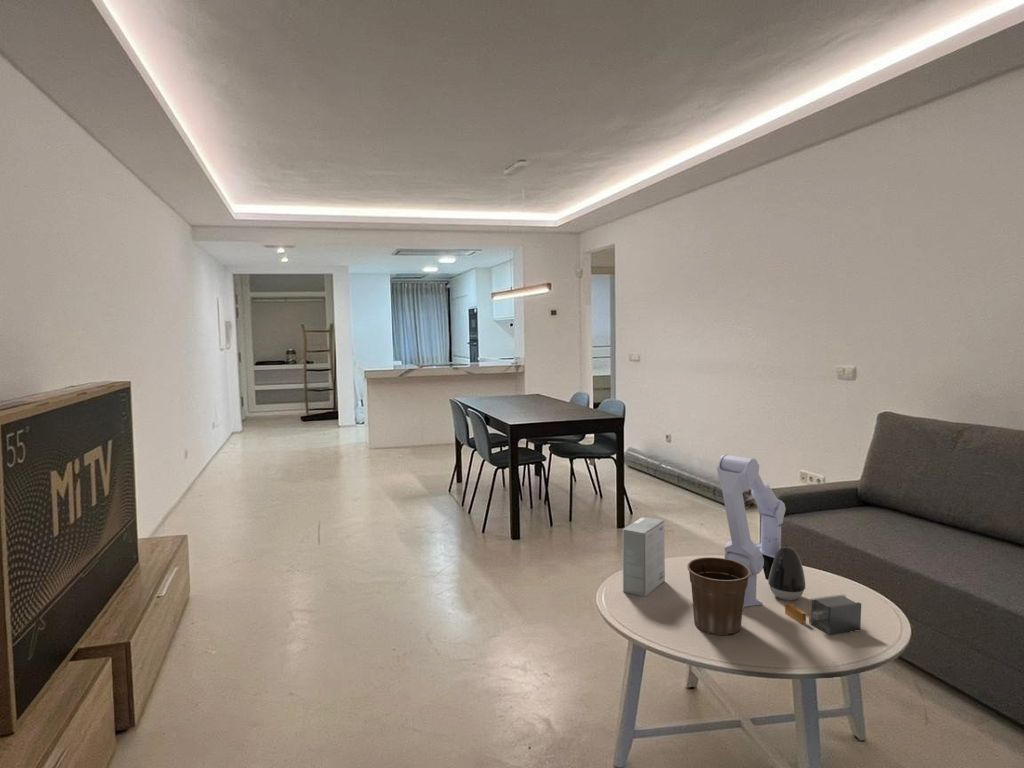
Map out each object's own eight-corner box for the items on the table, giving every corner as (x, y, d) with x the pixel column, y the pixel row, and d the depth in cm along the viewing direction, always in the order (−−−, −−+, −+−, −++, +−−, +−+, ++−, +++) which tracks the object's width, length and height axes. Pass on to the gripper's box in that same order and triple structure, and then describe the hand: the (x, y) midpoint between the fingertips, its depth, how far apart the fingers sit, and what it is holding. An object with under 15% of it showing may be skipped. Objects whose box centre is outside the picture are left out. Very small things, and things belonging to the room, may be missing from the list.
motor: (820, 636, 168) (821, 609, 168) (785, 613, 182) (785, 588, 181) (869, 629, 172) (870, 602, 172) (831, 607, 186) (832, 582, 185)
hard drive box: (642, 575, 211) (643, 516, 209) (665, 581, 206) (666, 519, 204) (621, 591, 198) (622, 528, 196) (644, 597, 194) (645, 532, 192)
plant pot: (749, 644, 165) (750, 583, 163) (683, 634, 170) (684, 575, 169) (749, 617, 180) (750, 561, 178) (689, 609, 185) (690, 554, 184)
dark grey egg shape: (803, 592, 196) (805, 543, 195) (806, 606, 186) (808, 554, 185) (767, 588, 200) (768, 540, 199) (768, 601, 190) (769, 550, 189)
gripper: (798, 542, 193) (796, 586, 194) (767, 528, 207) (766, 569, 208) (777, 545, 191) (776, 589, 193) (747, 530, 205) (747, 571, 207)
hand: (769, 579), depth 200 cm, fingers closed
